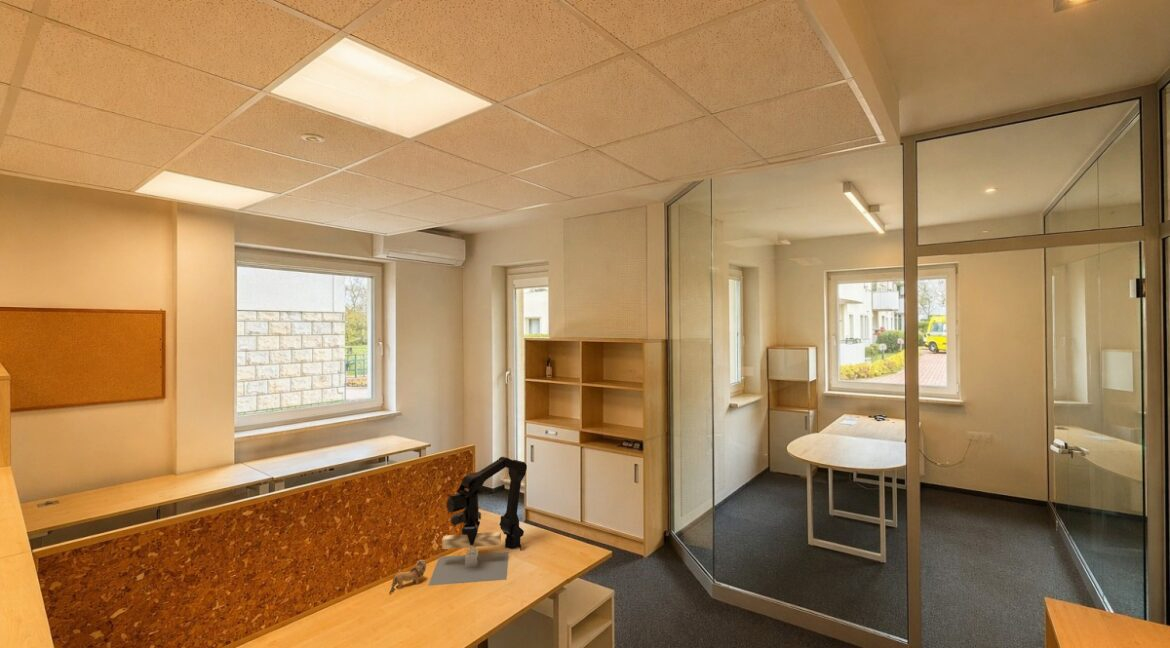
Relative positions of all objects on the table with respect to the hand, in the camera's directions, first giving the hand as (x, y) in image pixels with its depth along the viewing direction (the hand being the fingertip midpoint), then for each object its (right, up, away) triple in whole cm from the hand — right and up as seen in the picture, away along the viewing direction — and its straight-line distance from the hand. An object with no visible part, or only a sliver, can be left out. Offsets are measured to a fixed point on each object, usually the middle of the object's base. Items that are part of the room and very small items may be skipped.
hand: (472, 542), depth 212 cm
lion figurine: (-21, -10, -17) cm, 29 cm away
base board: (+1, -9, -5) cm, 11 cm away
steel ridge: (0, -8, 0) cm, 8 cm away
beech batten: (0, -1, 0) cm, 1 cm away
